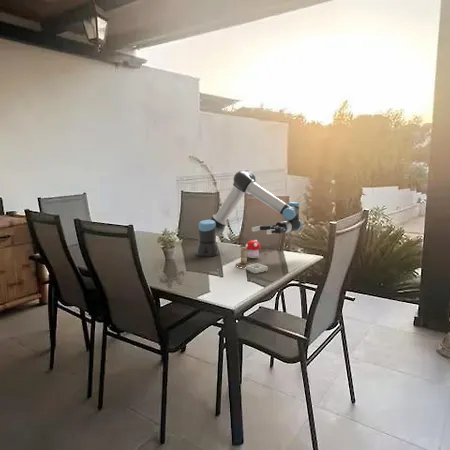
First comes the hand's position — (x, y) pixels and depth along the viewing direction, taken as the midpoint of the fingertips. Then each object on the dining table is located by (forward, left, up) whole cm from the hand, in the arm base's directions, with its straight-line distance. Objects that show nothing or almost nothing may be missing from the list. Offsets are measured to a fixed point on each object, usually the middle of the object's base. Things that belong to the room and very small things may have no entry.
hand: (259, 230), depth 244 cm
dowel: (0, -13, -21) cm, 25 cm away
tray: (+11, -13, -21) cm, 27 cm away
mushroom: (-14, +7, -21) cm, 27 cm away
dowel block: (0, -13, -21) cm, 25 cm away
